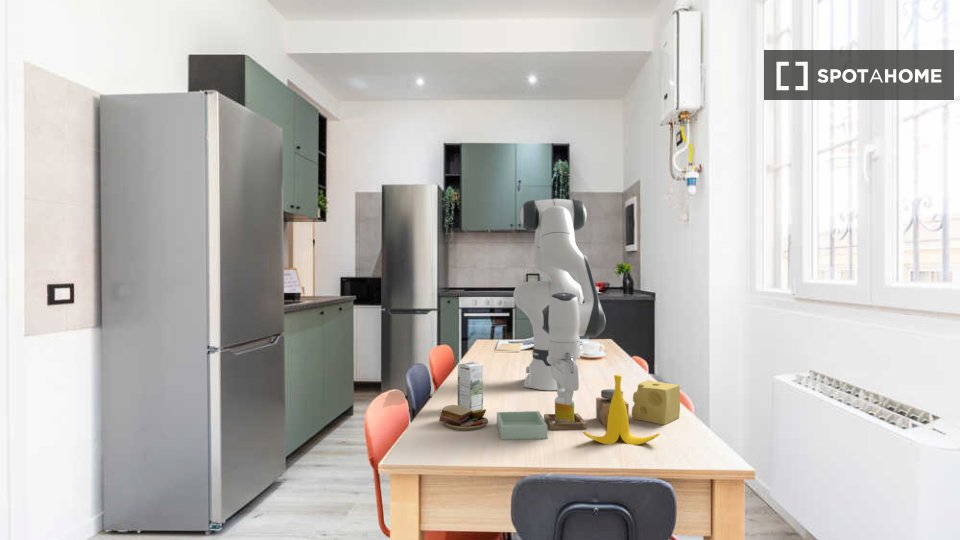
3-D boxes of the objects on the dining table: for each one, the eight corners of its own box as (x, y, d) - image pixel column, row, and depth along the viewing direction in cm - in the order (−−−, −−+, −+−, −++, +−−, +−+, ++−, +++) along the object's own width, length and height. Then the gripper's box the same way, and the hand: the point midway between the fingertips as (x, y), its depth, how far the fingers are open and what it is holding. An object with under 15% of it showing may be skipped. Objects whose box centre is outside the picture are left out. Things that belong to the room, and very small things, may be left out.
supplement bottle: (574, 427, 149) (573, 392, 149) (554, 426, 151) (554, 391, 150) (574, 422, 155) (574, 388, 155) (555, 421, 156) (555, 387, 156)
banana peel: (581, 445, 135) (581, 378, 135) (610, 426, 151) (609, 366, 151) (647, 458, 126) (646, 386, 126) (670, 437, 141) (670, 373, 141)
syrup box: (470, 406, 172) (470, 361, 172) (483, 410, 168) (483, 363, 168) (457, 410, 168) (456, 363, 168) (470, 413, 164) (470, 366, 164)
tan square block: (596, 418, 159) (596, 388, 159) (619, 417, 159) (619, 388, 159) (603, 426, 151) (603, 395, 151) (628, 425, 151) (628, 394, 151)
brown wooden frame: (544, 419, 157) (544, 414, 157) (578, 418, 158) (578, 413, 158) (550, 430, 147) (550, 424, 147) (586, 429, 148) (586, 423, 148)
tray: (496, 423, 154) (496, 412, 154) (538, 422, 154) (538, 411, 154) (501, 439, 140) (501, 426, 140) (547, 438, 140) (547, 425, 140)
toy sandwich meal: (471, 434, 145) (471, 417, 145) (432, 426, 152) (432, 409, 152) (496, 423, 155) (496, 406, 155) (458, 416, 163) (458, 400, 163)
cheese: (631, 419, 158) (631, 384, 158) (648, 411, 166) (648, 379, 165) (666, 426, 151) (666, 390, 150) (681, 418, 158) (681, 383, 158)
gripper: (584, 356, 142) (584, 409, 142) (567, 346, 162) (568, 392, 162) (560, 356, 142) (560, 409, 142) (547, 346, 162) (547, 392, 162)
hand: (564, 400), depth 152 cm, fingers open, 8 cm apart
